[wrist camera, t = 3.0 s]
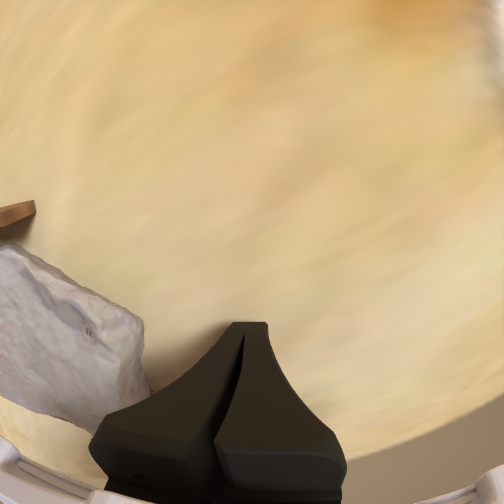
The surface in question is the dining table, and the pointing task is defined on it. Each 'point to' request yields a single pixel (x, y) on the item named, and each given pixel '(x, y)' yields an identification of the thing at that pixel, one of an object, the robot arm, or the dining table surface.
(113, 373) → the stone block
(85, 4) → the dining table surface
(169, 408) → the robot arm
